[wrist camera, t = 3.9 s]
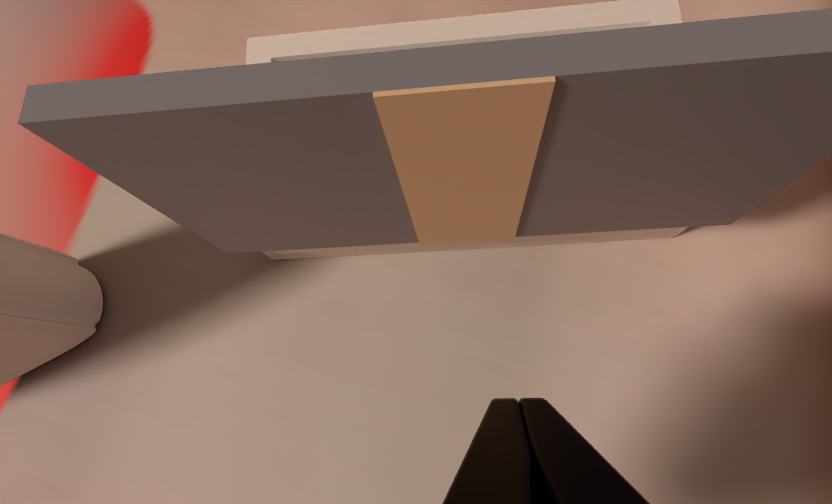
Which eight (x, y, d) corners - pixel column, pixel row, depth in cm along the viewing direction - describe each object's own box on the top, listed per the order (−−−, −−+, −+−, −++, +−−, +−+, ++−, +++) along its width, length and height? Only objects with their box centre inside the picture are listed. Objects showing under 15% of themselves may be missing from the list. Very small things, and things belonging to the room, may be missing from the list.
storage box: (674, 236, 19) (720, 203, 16) (273, 259, 20) (233, 234, 17) (642, 59, 21) (676, -6, 18) (281, 91, 23) (247, 38, 19)
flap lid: (724, 200, 15) (731, 227, 15) (229, 231, 17) (226, 256, 16) (977, -6, 8) (999, 42, 7) (27, 85, 9) (16, 128, 9)
